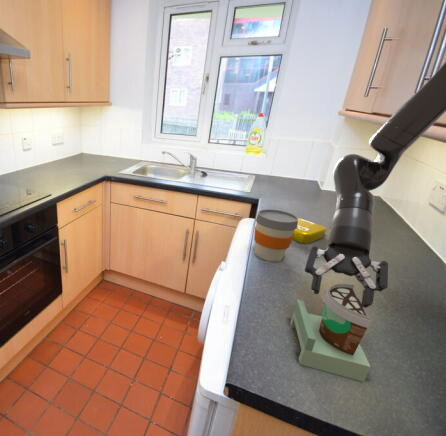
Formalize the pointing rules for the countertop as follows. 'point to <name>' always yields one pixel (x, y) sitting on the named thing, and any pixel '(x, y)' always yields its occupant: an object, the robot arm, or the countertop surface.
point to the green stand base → (325, 348)
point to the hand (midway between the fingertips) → (339, 299)
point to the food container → (343, 318)
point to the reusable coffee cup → (274, 233)
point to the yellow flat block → (308, 231)
